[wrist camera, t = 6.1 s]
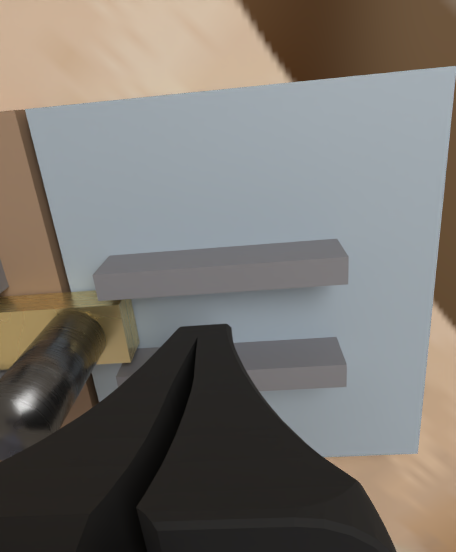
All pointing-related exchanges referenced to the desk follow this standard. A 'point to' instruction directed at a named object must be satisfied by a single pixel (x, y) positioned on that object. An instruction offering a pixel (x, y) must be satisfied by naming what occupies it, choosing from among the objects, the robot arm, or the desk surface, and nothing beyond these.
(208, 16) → the desk surface
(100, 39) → the desk surface
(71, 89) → the desk surface
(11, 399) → the bolt
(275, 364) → the sliding latch plate
